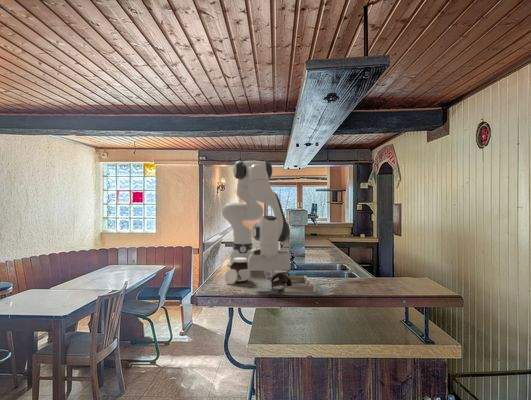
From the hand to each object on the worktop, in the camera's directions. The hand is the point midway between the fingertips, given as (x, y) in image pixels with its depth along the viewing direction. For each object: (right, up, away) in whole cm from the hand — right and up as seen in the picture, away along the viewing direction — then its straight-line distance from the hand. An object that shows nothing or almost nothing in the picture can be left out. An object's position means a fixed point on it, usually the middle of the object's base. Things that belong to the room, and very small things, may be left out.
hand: (268, 279), depth 165 cm
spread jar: (-16, -4, +9) cm, 19 cm away
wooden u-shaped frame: (+12, -4, +2) cm, 13 cm away
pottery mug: (+6, -4, -1) cm, 7 cm away
